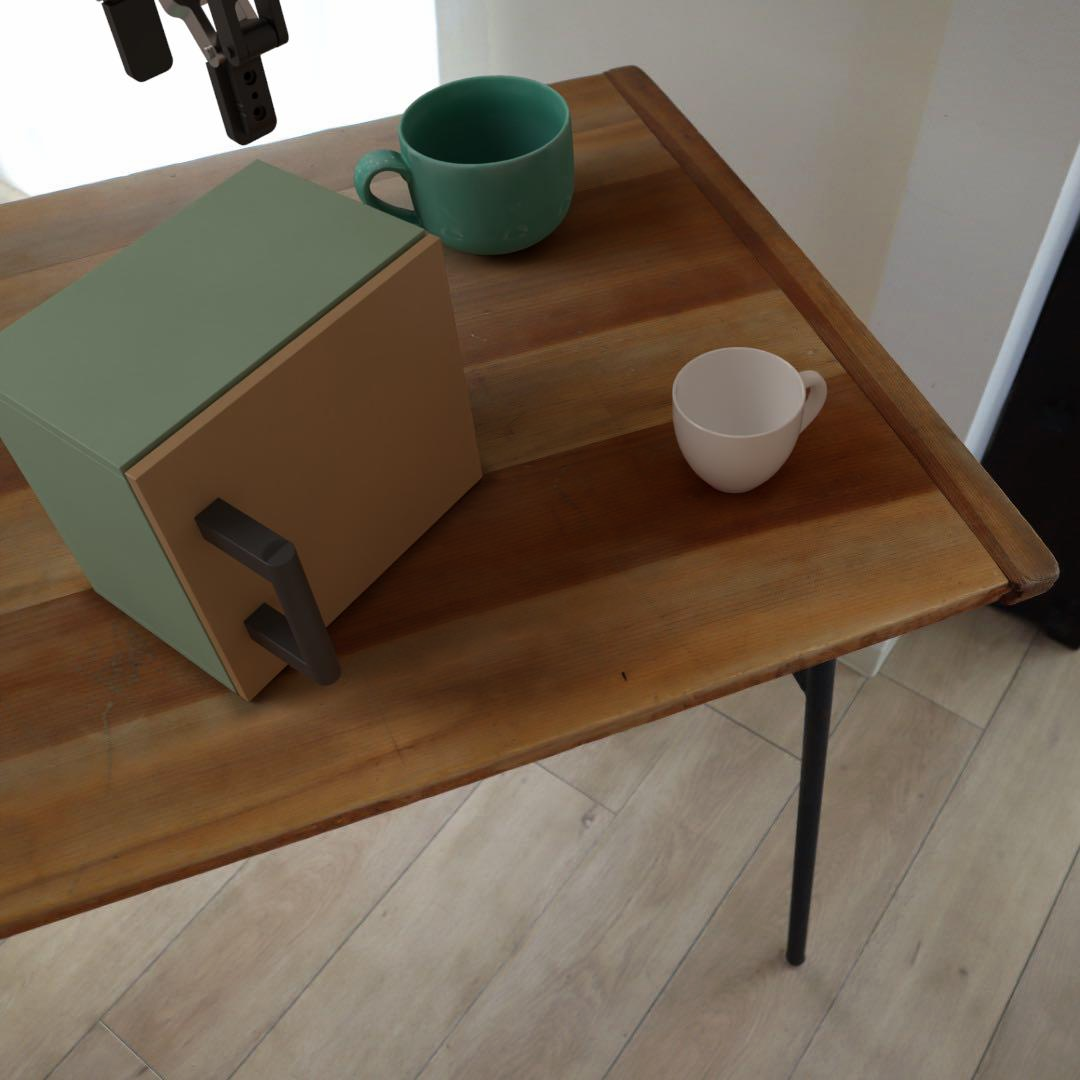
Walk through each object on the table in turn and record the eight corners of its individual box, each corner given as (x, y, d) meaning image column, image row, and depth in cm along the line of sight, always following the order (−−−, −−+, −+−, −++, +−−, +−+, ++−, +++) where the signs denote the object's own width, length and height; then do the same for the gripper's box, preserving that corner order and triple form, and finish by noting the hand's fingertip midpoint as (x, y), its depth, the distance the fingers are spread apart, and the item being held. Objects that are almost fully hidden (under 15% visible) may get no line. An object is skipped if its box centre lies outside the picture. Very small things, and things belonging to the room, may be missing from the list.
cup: (650, 451, 76) (649, 372, 71) (785, 399, 78) (794, 319, 73) (709, 532, 71) (712, 454, 66) (852, 475, 73) (866, 395, 68)
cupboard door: (554, 514, 73) (527, 274, 59) (321, 755, 63) (223, 536, 49) (473, 471, 76) (429, 232, 62) (239, 695, 66) (123, 472, 52)
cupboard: (471, 471, 76) (425, 228, 62) (237, 694, 66) (119, 468, 52) (328, 396, 82) (257, 158, 68) (94, 591, 72) (-47, 362, 58)
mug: (556, 168, 97) (547, 59, 90) (597, 256, 89) (590, 144, 82) (359, 210, 96) (334, 103, 89) (383, 304, 88) (357, 194, 81)
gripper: (-115, -325, 44) (53, 87, 56) (74, -259, 36) (219, 197, 49) (65, -374, 47) (187, 27, 59) (272, -322, 39) (361, 122, 52)
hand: (201, 104), depth 54 cm, fingers open, 8 cm apart
